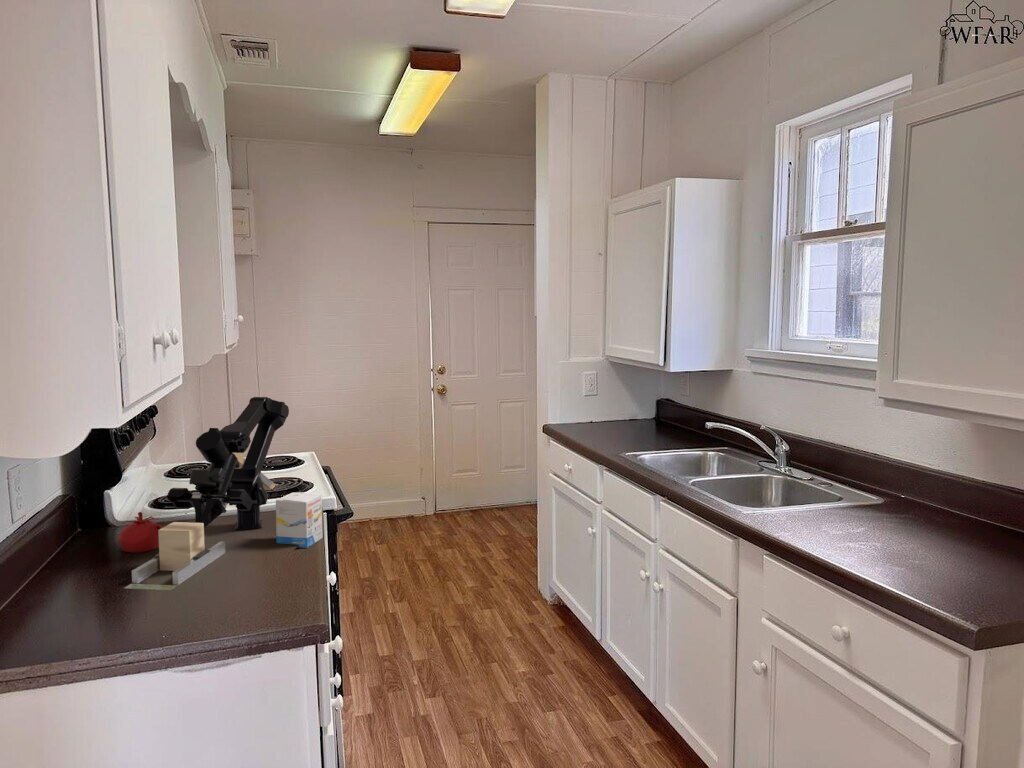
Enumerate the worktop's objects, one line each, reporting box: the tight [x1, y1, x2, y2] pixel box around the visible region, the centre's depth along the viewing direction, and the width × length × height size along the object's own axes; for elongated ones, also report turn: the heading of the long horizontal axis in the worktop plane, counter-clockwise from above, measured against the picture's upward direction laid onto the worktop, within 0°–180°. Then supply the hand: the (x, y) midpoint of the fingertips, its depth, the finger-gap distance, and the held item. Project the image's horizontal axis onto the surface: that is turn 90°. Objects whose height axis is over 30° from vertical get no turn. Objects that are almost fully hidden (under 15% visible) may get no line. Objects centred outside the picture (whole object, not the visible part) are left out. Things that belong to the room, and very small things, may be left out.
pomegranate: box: [118, 511, 163, 554], centre depth 167 cm, size 10×10×9 cm
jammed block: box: [158, 521, 206, 572], centre depth 155 cm, size 6×7×9 cm
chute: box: [124, 541, 226, 591], centre depth 154 cm, size 26×14×4 cm, turn 176°
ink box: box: [275, 491, 323, 549], centre depth 174 cm, size 9×8×12 cm
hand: (197, 531), depth 161 cm, fingers closed
